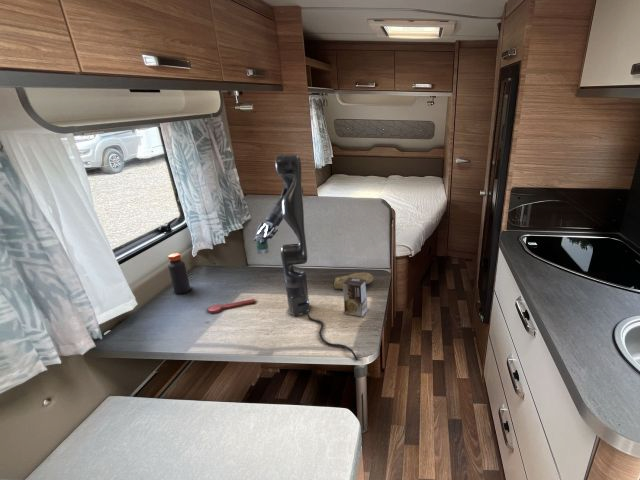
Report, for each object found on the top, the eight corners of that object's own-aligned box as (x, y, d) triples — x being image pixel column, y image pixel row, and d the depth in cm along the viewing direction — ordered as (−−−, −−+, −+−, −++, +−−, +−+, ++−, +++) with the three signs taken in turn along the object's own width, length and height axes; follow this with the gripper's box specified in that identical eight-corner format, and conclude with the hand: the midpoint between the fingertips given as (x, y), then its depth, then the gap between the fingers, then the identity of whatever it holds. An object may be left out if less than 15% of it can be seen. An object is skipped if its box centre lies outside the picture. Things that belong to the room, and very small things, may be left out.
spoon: (254, 304, 161) (254, 302, 161) (207, 314, 153) (207, 312, 153) (254, 298, 166) (253, 296, 166) (208, 307, 158) (208, 305, 158)
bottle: (175, 295, 168) (166, 259, 161) (173, 290, 172) (164, 254, 166) (191, 291, 172) (183, 255, 165) (189, 285, 177) (181, 251, 170)
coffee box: (367, 309, 159) (366, 279, 154) (362, 317, 153) (361, 286, 148) (350, 306, 162) (348, 276, 156) (344, 313, 156) (342, 283, 150)
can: (271, 251, 179) (268, 234, 176) (261, 255, 175) (258, 237, 172) (265, 249, 182) (262, 232, 179) (255, 252, 178) (252, 235, 175)
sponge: (335, 294, 173) (372, 287, 173) (331, 280, 172) (369, 273, 172) (340, 286, 186) (375, 279, 186) (337, 273, 185) (372, 266, 185)
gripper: (263, 209, 181) (245, 236, 176) (278, 214, 173) (260, 242, 168) (274, 216, 187) (256, 242, 182) (289, 221, 179) (271, 249, 174)
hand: (258, 242), depth 175 cm, fingers closed on can, 5 cm apart
